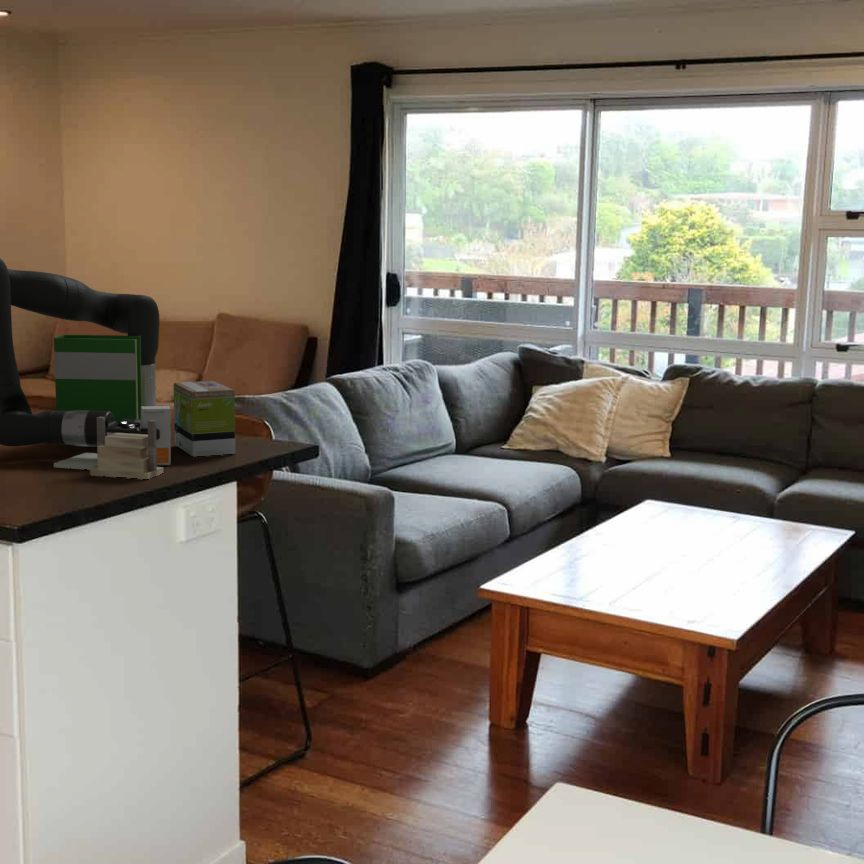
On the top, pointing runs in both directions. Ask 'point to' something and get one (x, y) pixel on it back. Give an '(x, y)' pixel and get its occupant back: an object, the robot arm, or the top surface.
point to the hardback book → (98, 374)
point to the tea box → (204, 418)
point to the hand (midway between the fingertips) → (165, 431)
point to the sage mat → (79, 462)
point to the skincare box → (164, 425)
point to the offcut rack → (126, 453)
